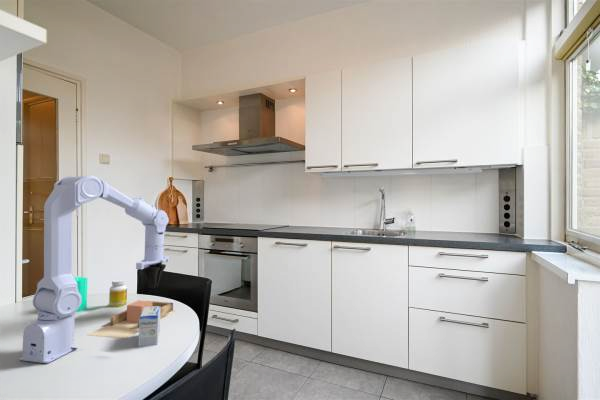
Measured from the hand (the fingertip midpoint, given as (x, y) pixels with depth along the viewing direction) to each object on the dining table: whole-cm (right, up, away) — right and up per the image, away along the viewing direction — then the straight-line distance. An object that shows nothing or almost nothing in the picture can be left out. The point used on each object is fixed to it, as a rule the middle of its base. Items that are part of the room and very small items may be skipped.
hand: (153, 287), depth 102 cm
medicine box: (+9, -9, -20) cm, 24 cm away
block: (-1, -8, -6) cm, 10 cm away
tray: (-1, -9, -8) cm, 12 cm away
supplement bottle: (-16, -10, +7) cm, 20 cm away
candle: (-29, -9, +5) cm, 31 cm away
